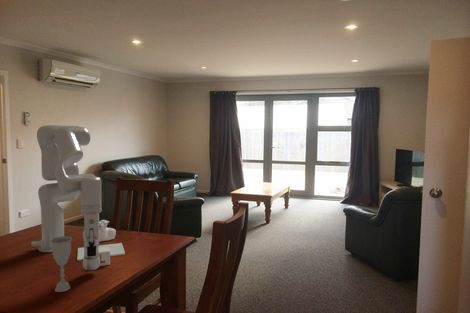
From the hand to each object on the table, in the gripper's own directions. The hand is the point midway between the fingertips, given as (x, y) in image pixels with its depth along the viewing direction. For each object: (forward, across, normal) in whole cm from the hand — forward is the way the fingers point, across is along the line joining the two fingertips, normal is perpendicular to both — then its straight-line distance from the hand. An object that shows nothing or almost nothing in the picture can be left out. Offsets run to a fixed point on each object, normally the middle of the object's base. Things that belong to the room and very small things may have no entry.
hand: (91, 252), depth 132 cm
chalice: (+9, -10, +10) cm, 16 cm away
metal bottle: (+7, 0, 0) cm, 7 cm away
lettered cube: (+9, +10, -4) cm, 14 cm away
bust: (+10, +44, -6) cm, 46 cm away
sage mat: (+9, +25, -4) cm, 27 cm away
